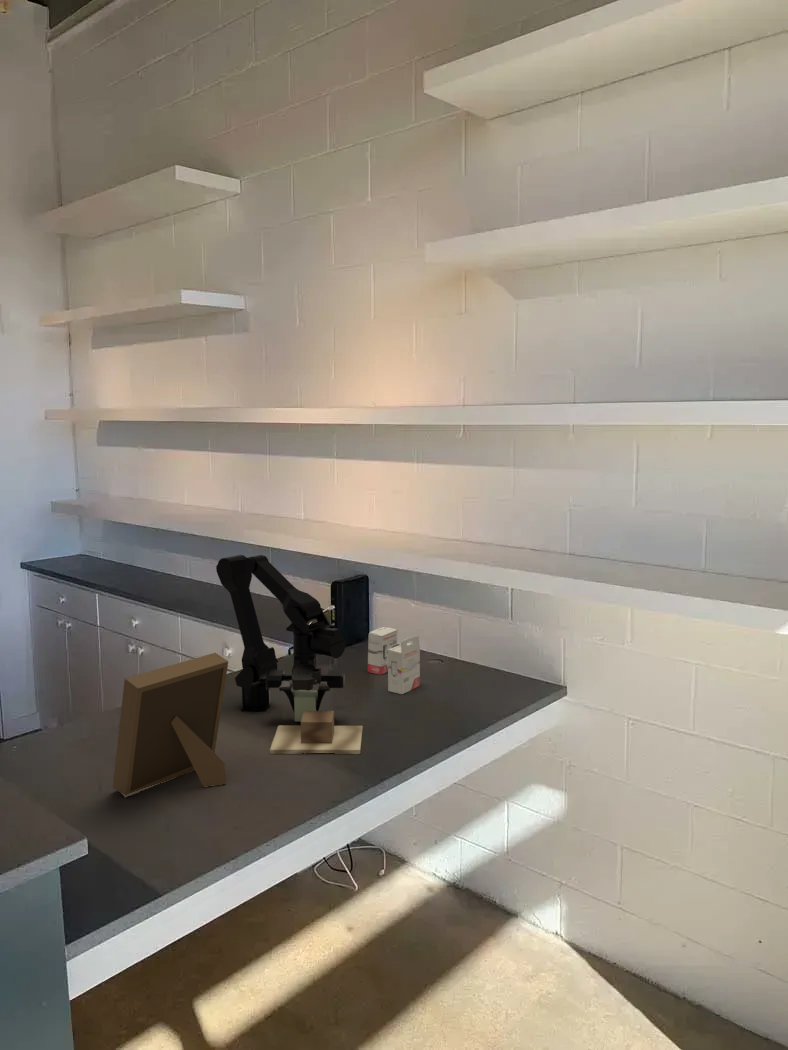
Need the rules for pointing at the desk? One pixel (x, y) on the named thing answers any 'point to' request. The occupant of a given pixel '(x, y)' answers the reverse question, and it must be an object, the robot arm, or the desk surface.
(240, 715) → the desk surface
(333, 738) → the base plate
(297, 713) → the sage block
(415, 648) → the ink cartridge box
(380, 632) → the ink box
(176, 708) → the photo frame
